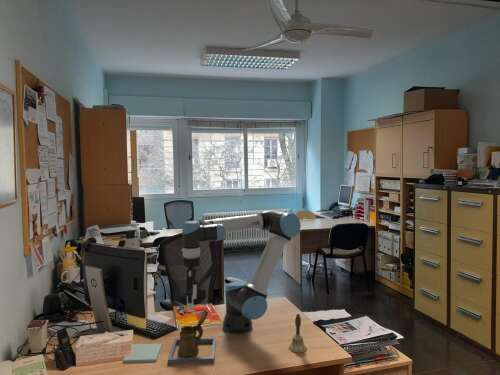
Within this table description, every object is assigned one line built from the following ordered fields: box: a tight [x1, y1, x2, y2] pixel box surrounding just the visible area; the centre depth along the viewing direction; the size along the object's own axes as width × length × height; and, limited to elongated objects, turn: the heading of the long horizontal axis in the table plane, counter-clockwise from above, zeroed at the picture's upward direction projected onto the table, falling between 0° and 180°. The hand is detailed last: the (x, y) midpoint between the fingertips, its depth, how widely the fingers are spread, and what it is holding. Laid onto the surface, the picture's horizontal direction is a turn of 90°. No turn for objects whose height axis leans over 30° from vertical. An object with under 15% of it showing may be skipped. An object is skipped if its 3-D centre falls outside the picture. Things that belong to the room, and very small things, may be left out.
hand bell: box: [288, 313, 307, 354], centre depth 176 cm, size 8×8×16 cm
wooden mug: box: [177, 311, 209, 358], centre depth 173 cm, size 9×14×18 cm, turn 102°
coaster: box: [122, 343, 163, 363], centre depth 173 cm, size 14×14×1 cm
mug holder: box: [167, 337, 217, 365], centre depth 174 cm, size 19×19×2 cm
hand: (191, 304), depth 172 cm, fingers open, 13 cm apart
